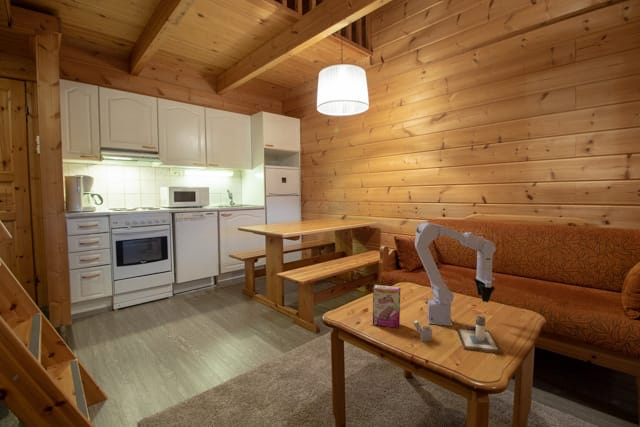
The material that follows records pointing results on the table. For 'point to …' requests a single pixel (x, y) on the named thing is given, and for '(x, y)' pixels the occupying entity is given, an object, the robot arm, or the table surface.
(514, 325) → the table surface
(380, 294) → the candy bar box
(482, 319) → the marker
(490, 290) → the robot arm
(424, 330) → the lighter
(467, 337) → the picture frame
